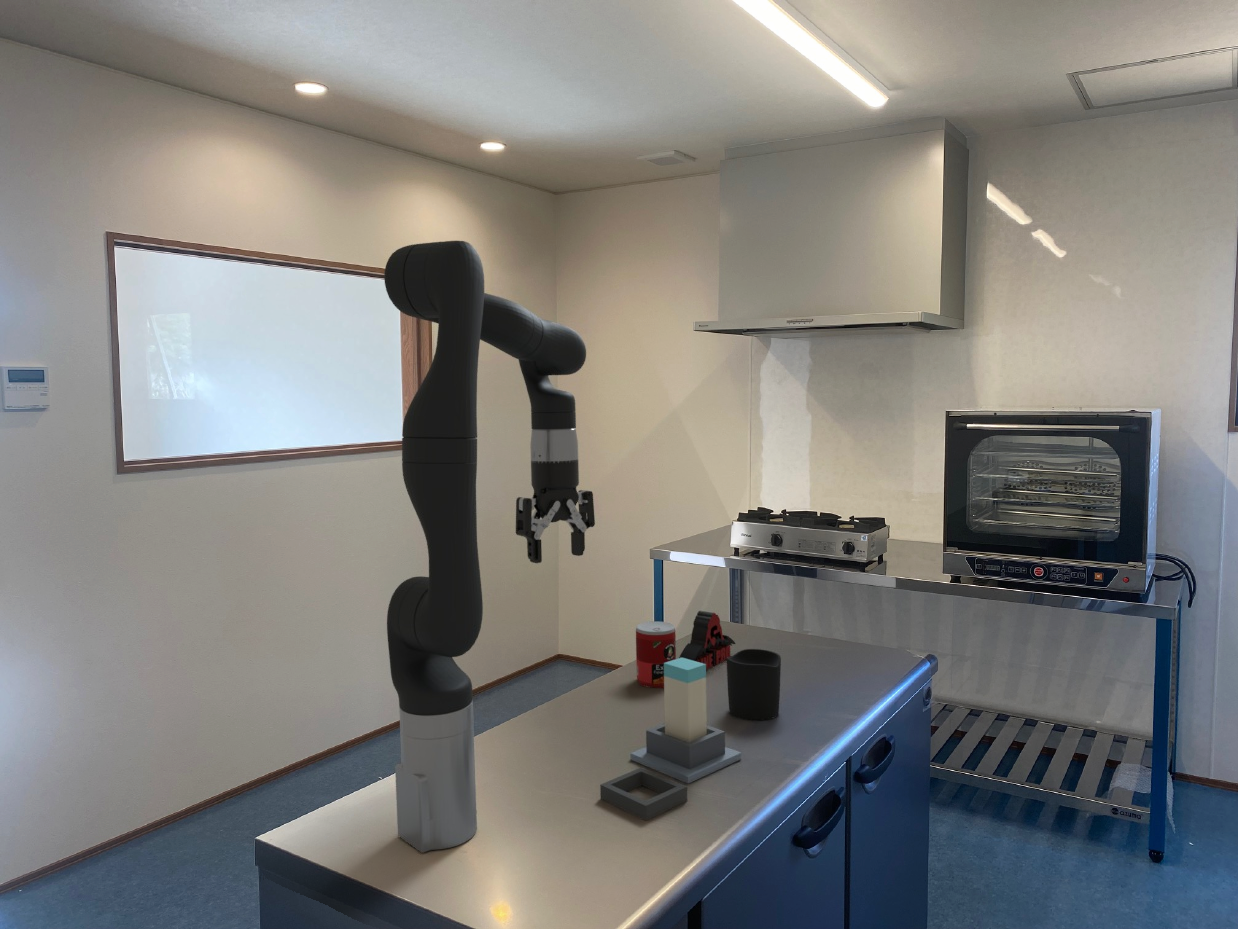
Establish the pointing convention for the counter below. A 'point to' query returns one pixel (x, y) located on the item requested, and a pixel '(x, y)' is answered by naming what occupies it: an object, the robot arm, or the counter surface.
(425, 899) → the counter surface
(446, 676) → the robot arm
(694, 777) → the port
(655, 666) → the canned food
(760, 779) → the counter surface
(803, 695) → the counter surface
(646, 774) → the gray square frame
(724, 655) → the logo sign
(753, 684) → the pen holder
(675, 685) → the plug
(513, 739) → the counter surface
